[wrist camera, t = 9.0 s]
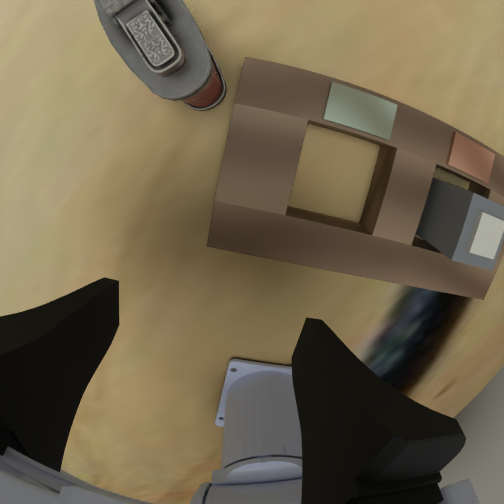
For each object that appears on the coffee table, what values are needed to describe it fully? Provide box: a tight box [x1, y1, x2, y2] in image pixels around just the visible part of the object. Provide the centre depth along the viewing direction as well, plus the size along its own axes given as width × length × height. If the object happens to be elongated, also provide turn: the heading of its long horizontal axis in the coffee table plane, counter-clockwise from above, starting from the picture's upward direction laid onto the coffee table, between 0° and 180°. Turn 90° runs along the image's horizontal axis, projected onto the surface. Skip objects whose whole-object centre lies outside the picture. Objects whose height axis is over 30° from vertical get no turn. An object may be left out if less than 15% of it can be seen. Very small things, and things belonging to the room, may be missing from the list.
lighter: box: [94, 0, 227, 111], centre depth 11 cm, size 8×3×10 cm, turn 30°
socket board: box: [207, 57, 504, 300], centre depth 18 cm, size 11×22×3 cm, turn 78°
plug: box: [416, 178, 504, 271], centre depth 17 cm, size 4×4×6 cm
